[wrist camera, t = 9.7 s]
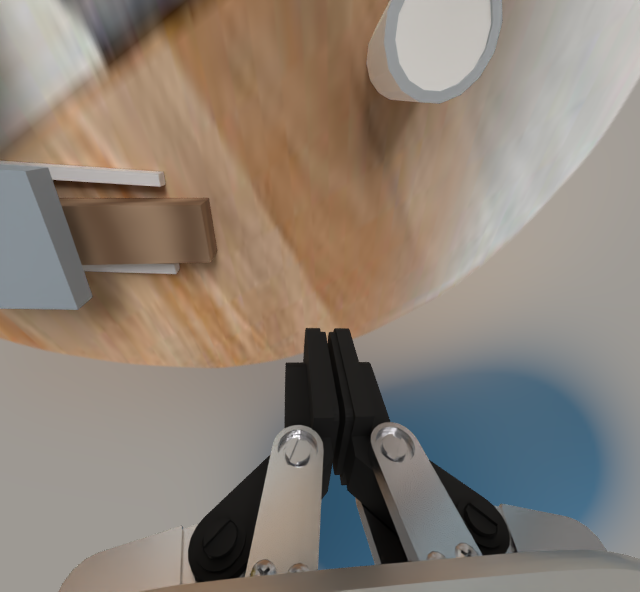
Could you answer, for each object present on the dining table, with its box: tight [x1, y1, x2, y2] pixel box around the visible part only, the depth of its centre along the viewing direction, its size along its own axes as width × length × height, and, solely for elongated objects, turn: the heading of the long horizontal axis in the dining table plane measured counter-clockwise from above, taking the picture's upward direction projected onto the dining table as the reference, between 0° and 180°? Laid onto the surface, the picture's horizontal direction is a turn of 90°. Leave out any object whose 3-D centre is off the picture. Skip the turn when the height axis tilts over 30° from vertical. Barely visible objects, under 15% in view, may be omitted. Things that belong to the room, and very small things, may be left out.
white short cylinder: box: [366, 0, 502, 104], centre depth 20 cm, size 7×7×7 cm
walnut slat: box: [59, 198, 217, 265], centre depth 26 cm, size 17×5×3 cm, turn 89°
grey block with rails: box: [0, 160, 180, 310], centre depth 23 cm, size 15×10×7 cm, turn 85°
